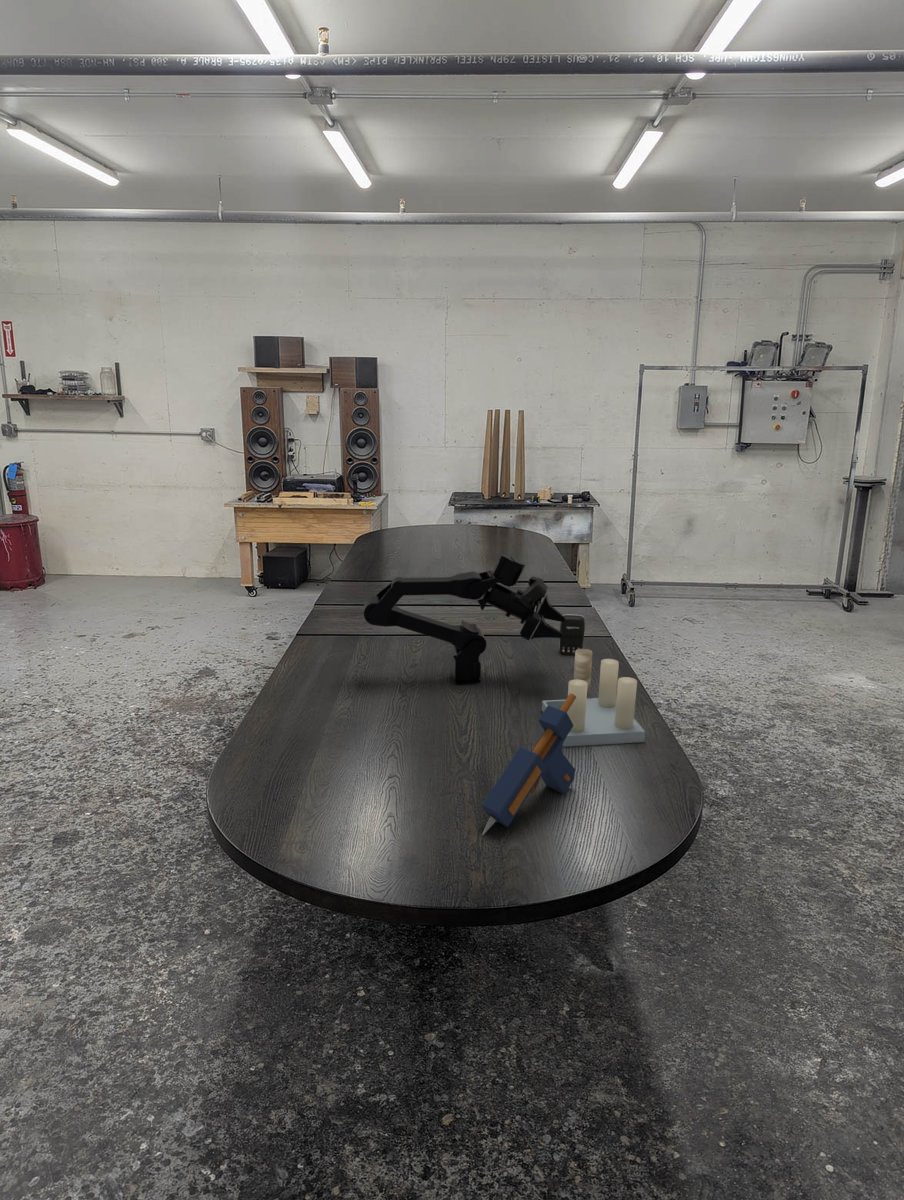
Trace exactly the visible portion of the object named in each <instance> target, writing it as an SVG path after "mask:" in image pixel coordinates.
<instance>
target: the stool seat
mask: <svg viewBox="0 0 904 1200" xmlns="http://www.w3.org/2000/svg"><path fill="white" fill-rule="evenodd" d="M619 663H620V662H619V661H618V660H616V659H613V658H604V659H601V661H600V670H599V683H598V684H599V685H598V697H592V698H591V697H589V698H587V687H588V683H587V682H586V681H584V680H579V679H574V678H573V679H571V680H569V681H568V686H567V687H568V688H567V697H568V696H569V694H570V693H571V694H574V695H575V696H576V699H575V700H574V702H573V703H572V705H571V707H570V708H569V710H568V711H567V714H568V716H569V718H570V719H571V721H572V723H573V725H574V726H573V727H572V729H571V731H570V732H569V734H568V735H567V737H566V739H565V740H564V742H563V745H562V748H563V747H564V748H565V747H583V746H599V745H600V746H601V745H615V744H629V743H630V744H631V743H632V744H633V743H644V742H645V736H646V730H645V729H644V728H643V727H642V726H641V725H640V723H639V722H638V721H637V720H636V719H635V709H636V698H637V687H638V680H637V679H635V678H633V677H628V676H622V677H619V666H620V665H619ZM541 701H542V702H541V712H542V711H543V712H544V711H545V709H546V708H547V706H548V705H549V706H552V707H555V708H557V709H560V708H561V707H562V705H563V704H564V702H565V701H566V699H552V700H551V699H550V700H549V699H548V700H541ZM543 712H542V713H543Z"/></svg>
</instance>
